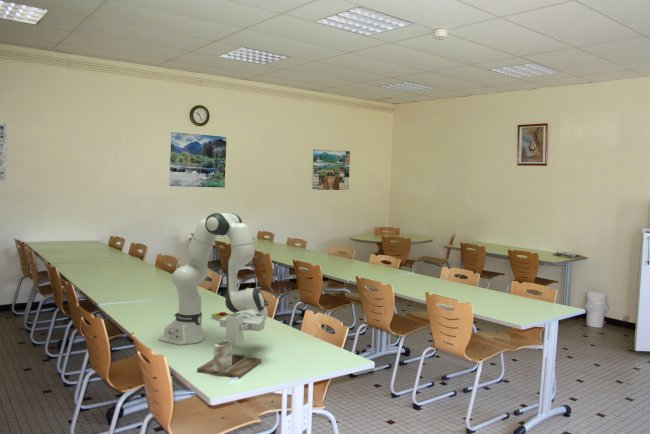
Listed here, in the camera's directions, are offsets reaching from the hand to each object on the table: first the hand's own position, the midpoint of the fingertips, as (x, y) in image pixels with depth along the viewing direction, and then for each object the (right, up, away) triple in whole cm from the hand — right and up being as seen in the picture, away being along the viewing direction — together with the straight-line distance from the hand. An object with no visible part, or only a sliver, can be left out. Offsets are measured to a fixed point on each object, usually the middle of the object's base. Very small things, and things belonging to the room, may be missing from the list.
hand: (233, 327), depth 238 cm
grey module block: (0, -6, +1) cm, 7 cm away
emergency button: (-20, -12, +81) cm, 84 cm away
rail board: (-1, -17, -1) cm, 17 cm away
